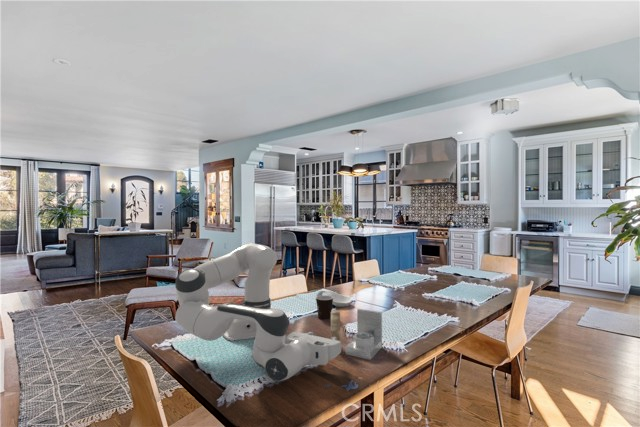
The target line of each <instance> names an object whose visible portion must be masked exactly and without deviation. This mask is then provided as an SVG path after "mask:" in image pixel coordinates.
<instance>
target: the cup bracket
mask: <svg viewBox="0 0 640 427" xmlns="http://www.w3.org/2000/svg"><path fill="white" fill-rule="evenodd" d="M356 316H357V317H356V318H357V326H356V327H357V328H356V329H357V331H356V332H355V334H353V335H352V340H351V341H350V342H349V343H348V344H347V345H345V355H346V356H353V357H356V358H360V359H366V360H369V361H371V360H372V359H373V358H374V357H375V356H376V355H377V354H378V352H380V350H381V349H383V312H382V311H374V310H371V309H370V310H369V309H363V308H357V315H356Z"/></svg>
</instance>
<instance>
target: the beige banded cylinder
mask: <svg viewBox="0 0 640 427" xmlns="http://www.w3.org/2000/svg"><path fill="white" fill-rule="evenodd" d="M332 336H333V337H336V338H337V341H340V342H341V312H340V311H339V310H332V311H331V318H330V338H331V337H332Z"/></svg>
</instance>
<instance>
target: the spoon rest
mask: <svg viewBox="0 0 640 427" xmlns="http://www.w3.org/2000/svg"><path fill="white" fill-rule="evenodd" d="M324 293H326V294H327V296H332V297H333V303H332V306H335V307H336V308H346V307H348V306H349V305H351V304H352V302H353V300H352V299H351V298H350V297H348V296H345V295H342V294H340V293H338V292H336V291H333V290H330V289H324V290H323V289H322V290H320V291H318V293H317V294H316V296H315V298H316V297H317V296H322V295H323V294H324Z"/></svg>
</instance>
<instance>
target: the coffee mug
mask: <svg viewBox="0 0 640 427" xmlns="http://www.w3.org/2000/svg"><path fill="white" fill-rule="evenodd" d="M316 296H317V295H316ZM316 296H315V301H316V310H317V319H319V320H323V321H324V320H331V311H333V304H332V303H333V297H332V296H328V294H327V295H323V294H322V296H317V297H316Z"/></svg>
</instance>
